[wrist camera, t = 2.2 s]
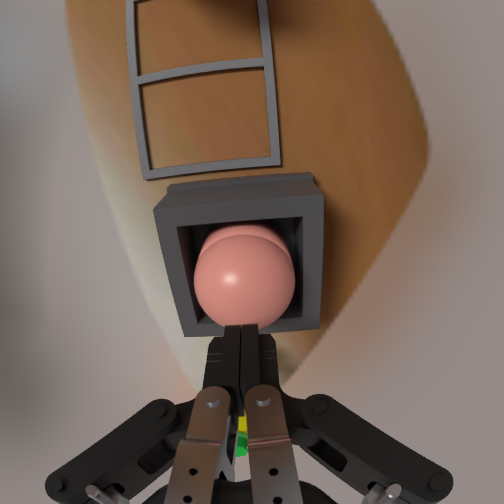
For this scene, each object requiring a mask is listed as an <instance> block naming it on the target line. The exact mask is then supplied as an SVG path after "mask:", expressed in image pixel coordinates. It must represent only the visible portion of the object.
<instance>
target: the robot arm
mask: <svg viewBox="0 0 504 504" xmlns="http://www.w3.org/2000/svg"><path fill="white" fill-rule="evenodd" d="M245 413H246V420H247V431H248V453H249V463H250V474H251V479H250V480H245V481H241V482H235V472H234V466H235V457H236V449H237V441H238V427H239V417H245ZM292 444H294V445H299V446H300V447H301V448H302V449H303V450H304V451H305V452H306V453H308V454H309V455H310V456H311V457H313V458H314V459H315V460H316V461H318V462H319V463H320V464H321V465H323V466H324V467H325V468H327V469H328V470H329V471H330V472H332V473H333V474H335V475H336V476H337V477H338V478H340V479H341V480H343V481H344V482H345V483H347V484H348V485H349V486H351V487H352V488H354V489H355V490H357V491H358V492H359V493H361V494H362V495H364V496H365V497H364V498H363V500H362V503H361V504H436V503H438V502H439V501H441V500H442V499H444V498H445V497H446V496H448V494H449V493H450V491H451V490H452V487H453V477H452V475H451V473H449V471H448V470H446V469H445V468H442V467H441V466H439V465H437V464H435V463H434V462H432V461H430V460H429V459H427V458H425V457H423V456H422V455H420V454H418V453H417V452H415V451H413V450H412V449H410V448H408V447H407V446H405V445H403V444H402V443H400V442H398V441H397V440H395V439H394V438H392V437H390V436H389V435H387V434H385V433H384V432H382V431H381V430H379V429H378V428H376V427H375V426H373V425H372V424H370V423H369V422H367V421H366V420H364V419H362V418H361V417H360V416H358V415H357V414H355V413H354V412H352V411H350V410H349V409H347V408H346V407H345V406H343V405H342V404H340V403H339V402H337V401H336V400H334V399H333V398H332V397H330V396H327V395H324V394H316V395H312V396H309V397H308V398H306V399H305V400H304V399H297V398H293V397H290V396H288V395H286V394H285V393H284V392H283V391H282V389H281V388H280V385H279V375H278V364H277V353H276V343H275V340H274V339H273V337H272V336H271V334H259V330H258V323H255V324H242V326H241V324H240V325H225V330H224V336H221V337H214V338H213V340H212V341H211V342H210V344H209V347H208V355H207V362H206V367H205V374H204V381H203V388H202V390H201V391H200V392H199V393H198V394H197V396H196V398H194V399H193V400H191V401H188V402H185V403H181V404H177V405H174V403H172V402H171V401H169V400H167V399H157V400H154V401H152V402H150V403H149V404H147V405H146V406H145V407H143V408H142V409H141V410H140V411H138V412H137V413H136V414H134V415H133V416H132V417H130V418H129V419H128V420H126V421H125V422H124V423H122V424H121V425H120V426H118V427H117V428H116V429H114V430H113V431H112V432H110V433H109V434H108V435H106V436H105V437H103V438H102V439H100V440H99V441H98V442H96V443H95V444H94V445H92V446H91V447H90V448H88V449H86V450H85V451H84V452H82V453H81V454H79V455H78V456H77V457H75V458H74V459H72V460H71V461H69V462H68V463H66V464H65V465H63V466H62V467H60V468H59V469H58V470H56V471H54V472H53V473H51V474H50V475H49V476H48V477H47V479H46V482H45V489H46V492H47V494H48V496H49V497H50V498H51V499H53V500H55V501H56V502H58V503H60V504H129V500H130V499H132V498H133V497H134V496H136V495H137V494H138V493H139V492H141V491H142V490H143V489H145V488H146V487H147V486H148V485H150V484H151V483H152V482H153V481H155V480H156V479H157V478H158V477H159V476H161V475H162V474H163V473H164V472H166V471H167V470H168V469H169V468H170V467H172V466H173V467H172V472H171V476H170V480H169V484H167V485H165V486H163V487H162V488H160V489H159V490H157V491H156V492H155V493H154V494H153V495H152V496H150V497H149V498H148V499H147V500H146V501H145V502H143V503H142V504H338V503H336V502H335V501H334V500H332V499H331V498H330V497H329V496H328V495H326V494H325V493H324V492H323V491H321V489H319V488H317V487H316V486H314V485H312V484H310V483H306V482H304V481H299V479H298V474H297V469H296V464H295V459H294V454H293V448H292Z"/></svg>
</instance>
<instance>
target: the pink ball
mask: <svg viewBox="0 0 504 504" xmlns="http://www.w3.org/2000/svg"><path fill="white" fill-rule="evenodd" d="M194 288H195V293H196V296H197V299H198V302H199V304H200V305H201V307H202V309H203V310H204V312H205V313H206V314H207V315H208V316H209V317H210V318H211V319H212V320H213V321H215V322H216V323H218V324H219V325H221V326H223V327H225V325H240V324H241V326H242V324H255V323H258V329H261V328H263V327H266V326H268V325H270V324H271V323H273V322H274V321H275V320H277V319H278V318H279V317H280V316H281V315H282V314H283V313H284V311H285V310H286V309H287V307H288V306H289V304H290V301H291V299H292V296H293V293H294V288H295V274H294V268H293V264H292V260H291V257H290V253H289V249H288V245H287V242H286V240H285V238H284V236H283V234H282V233H281V232H280V231H279V229H277V228H276V227H275V226H274V225H273V224H271V223H270V222H268V221H266V220H264V219H259V220H246V221H234V222H222V223H219V224H217V225H216V226H215V227H214V228H213V229H212V230H211V231H210V232H209V233H208V235H207V236H206V238H205V240H204V243H203V246H202V249H201V252H200V255H199V258H198V261H197V264H196V268H195V273H194Z"/></svg>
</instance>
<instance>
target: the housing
mask: <svg viewBox="0 0 504 504" xmlns="http://www.w3.org/2000/svg"><path fill="white" fill-rule="evenodd" d="M153 212H154V217H155V222H156V227H157V232H158V236H159V241H160V245H161V250H162V254H163V258H164V262H165V266H166V271H167V275H168V279H169V283H170V286H171V290H172V294H173V298H174V302H175V305H176V309H177V312H178V316H179V320H180V323H181V327H182V330H183V333H184V337H204V336H224V330H225V327H223V326H221V325H219V324H218V323H216V322H215V321H213V320H212V319H211V318H210V317H209V316H208V315H207V314H206V313H205V312H204V310H203V309H202V307H201V305H200V304H199V302H198V299H197V296H196V293H195V288H194V273H195V268H196V264H197V261H198V258H199V255H200V252H201V249H202V246H203V243H204V240H205V238H206V236H207V235H208V233H209V232H210V231H211V230H212V229H213V228H214V227H215V226H216V225H217V224H219V223H222V222H234V221H246V220H259V219H264V220H266V221H268V222H270V223H271V224H273V225H274V226H275V227H276V228H277V229H279V231H280V232H281V233H282V234H283V236H284V238H285V240H286V242H287V245H288V249H289V253H290V257H291V260H292V264H293V268H294V274H295V288H294V293H293V296H292V299H291V301H290V304H289V306H288V307H287V309H286V310H285V311H284V313H283V314H282V315H281V316H280V317H279V318H278V319H277V320H275V321H274V322H273V323H271V324H270V325H268V326H266V327H263V328H261V329H258V330H259V334H263V333H277V332H289V331H299V330H310V329H319V323H320V308H321V290H322V268H323V233H324V194H323V193H322V192H321V191H320V190H319V188H318V187H317V186H316V185H315V183H314V182H313V175H312V174H311V173H310V172H307V173H287V174H271V175H257V176H245V177H234V178H223V179H213V180H204V181H195V182H186V183H178V184H171V185H169V186H168V187H167V194H166V195H165V196H164V197H163V199H162V200H161V201H160V202H159V203H158V204H157V205H156V206H155V207H154V209H153Z"/></svg>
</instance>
